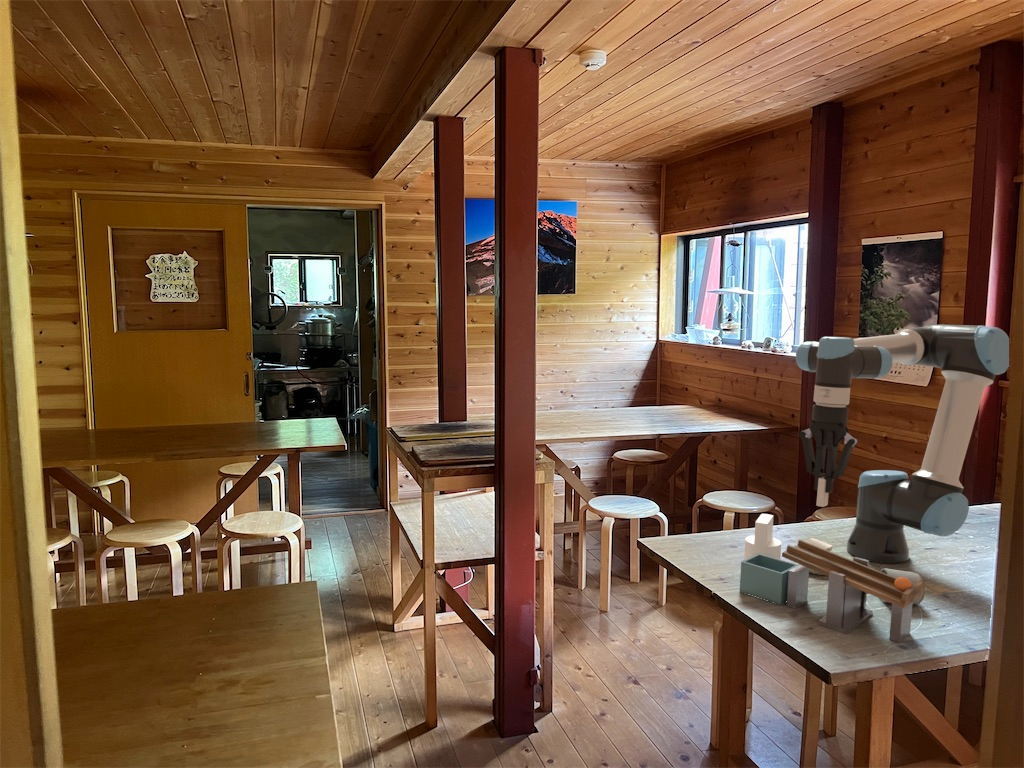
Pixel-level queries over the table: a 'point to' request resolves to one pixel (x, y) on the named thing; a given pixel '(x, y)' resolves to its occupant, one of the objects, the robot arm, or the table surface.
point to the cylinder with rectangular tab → (763, 539)
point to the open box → (765, 578)
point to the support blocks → (845, 603)
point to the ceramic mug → (909, 575)
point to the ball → (902, 584)
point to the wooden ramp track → (851, 571)
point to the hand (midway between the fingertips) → (821, 505)
